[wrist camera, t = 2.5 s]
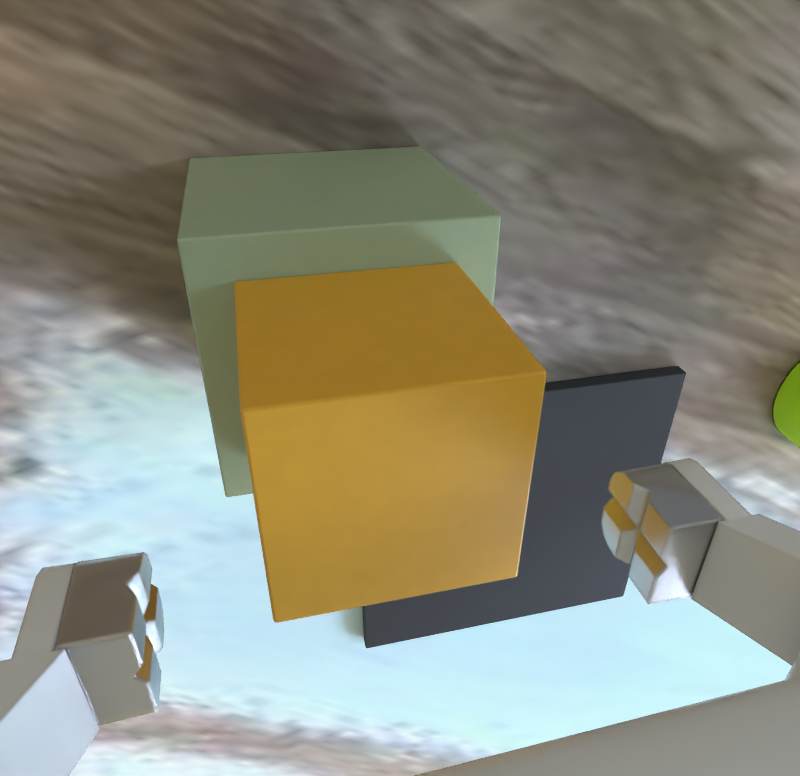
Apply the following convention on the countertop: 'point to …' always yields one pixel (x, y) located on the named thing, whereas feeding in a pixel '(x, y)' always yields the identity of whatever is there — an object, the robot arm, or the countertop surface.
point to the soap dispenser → (789, 407)
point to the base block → (313, 244)
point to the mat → (557, 508)
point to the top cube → (383, 434)
